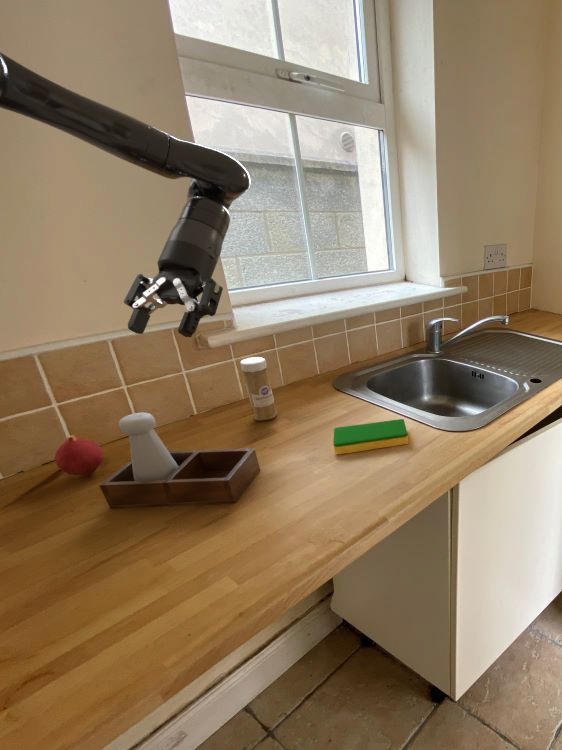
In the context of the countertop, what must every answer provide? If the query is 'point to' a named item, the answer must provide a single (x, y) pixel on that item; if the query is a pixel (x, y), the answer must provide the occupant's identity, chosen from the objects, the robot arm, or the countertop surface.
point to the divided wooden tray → (186, 480)
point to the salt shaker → (147, 448)
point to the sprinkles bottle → (259, 388)
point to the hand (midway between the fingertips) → (159, 333)
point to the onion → (78, 456)
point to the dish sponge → (370, 436)
